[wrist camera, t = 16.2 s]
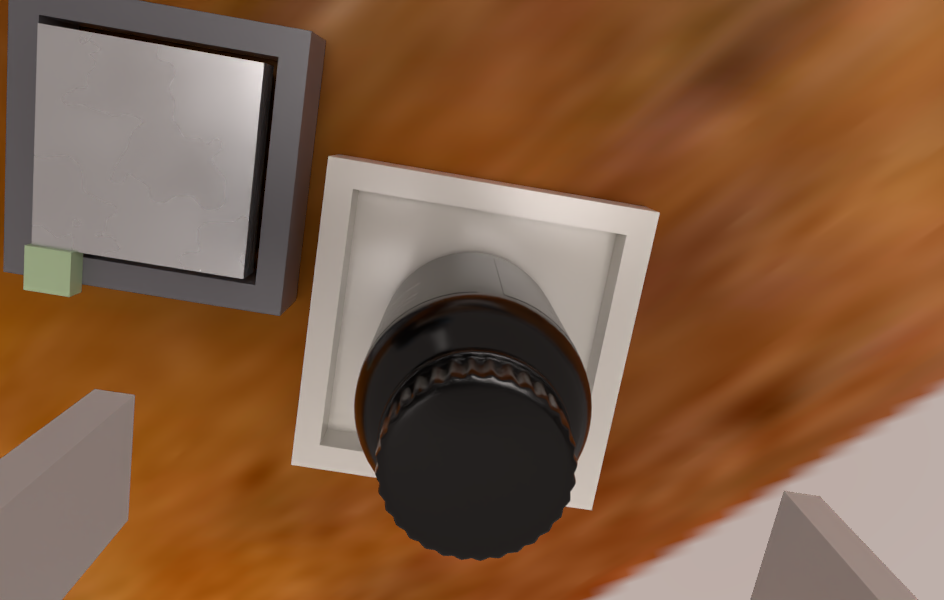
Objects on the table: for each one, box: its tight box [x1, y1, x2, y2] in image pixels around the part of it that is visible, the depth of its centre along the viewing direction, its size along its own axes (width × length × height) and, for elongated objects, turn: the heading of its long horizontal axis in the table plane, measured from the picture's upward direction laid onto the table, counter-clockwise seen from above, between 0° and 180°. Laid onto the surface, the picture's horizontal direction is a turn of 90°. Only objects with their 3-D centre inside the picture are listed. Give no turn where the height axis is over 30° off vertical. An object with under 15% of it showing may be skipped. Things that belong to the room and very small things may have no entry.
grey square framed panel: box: [4, 0, 326, 316], centre depth 25 cm, size 10×10×3 cm
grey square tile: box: [32, 23, 274, 279], centre depth 25 cm, size 7×7×1 cm
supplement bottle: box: [354, 252, 592, 561], centre depth 22 cm, size 7×7×12 cm
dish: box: [291, 154, 660, 510], centre depth 28 cm, size 12×12×2 cm
